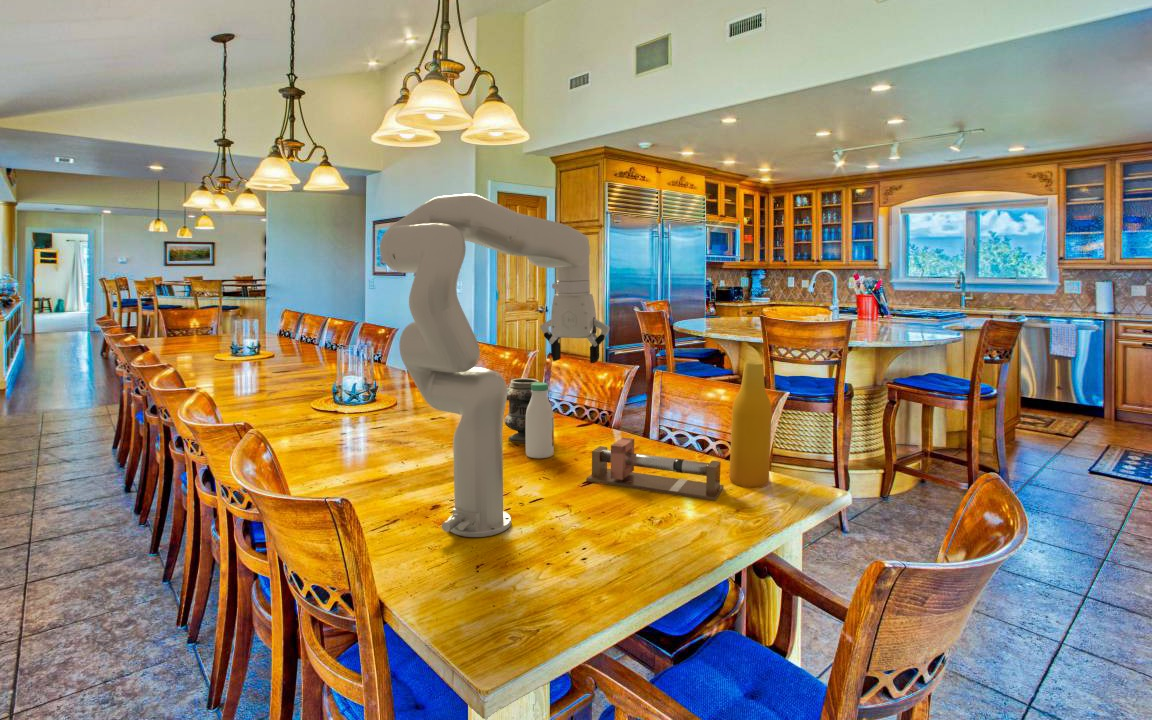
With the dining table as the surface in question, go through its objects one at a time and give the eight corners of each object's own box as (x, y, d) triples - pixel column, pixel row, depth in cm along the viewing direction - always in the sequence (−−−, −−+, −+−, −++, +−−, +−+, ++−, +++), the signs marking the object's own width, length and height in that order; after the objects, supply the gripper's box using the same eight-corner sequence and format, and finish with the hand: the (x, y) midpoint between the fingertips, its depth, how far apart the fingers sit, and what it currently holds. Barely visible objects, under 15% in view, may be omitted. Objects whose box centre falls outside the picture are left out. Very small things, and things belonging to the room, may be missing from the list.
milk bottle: (549, 460, 169) (549, 386, 166) (522, 458, 170) (521, 385, 167) (556, 452, 176) (556, 381, 173) (529, 450, 178) (529, 380, 175)
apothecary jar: (552, 437, 192) (552, 379, 189) (529, 446, 182) (528, 385, 179) (520, 432, 198) (520, 375, 196) (496, 440, 188) (495, 381, 185)
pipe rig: (715, 501, 139) (716, 470, 138) (586, 481, 152) (586, 452, 151) (723, 488, 147) (724, 459, 146) (600, 470, 160) (601, 443, 159)
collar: (622, 479, 148) (622, 446, 147) (610, 478, 149) (610, 445, 148) (633, 470, 155) (634, 438, 154) (622, 468, 157) (622, 437, 155)
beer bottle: (741, 489, 146) (746, 366, 142) (722, 477, 155) (726, 360, 151) (776, 486, 149) (782, 365, 145) (755, 474, 157) (760, 359, 153)
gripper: (532, 289, 145) (535, 362, 148) (602, 289, 138) (603, 366, 141) (547, 287, 152) (549, 356, 155) (614, 287, 145) (615, 360, 148)
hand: (575, 361), depth 148 cm, fingers open, 9 cm apart
